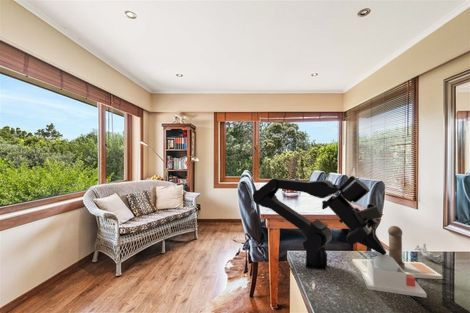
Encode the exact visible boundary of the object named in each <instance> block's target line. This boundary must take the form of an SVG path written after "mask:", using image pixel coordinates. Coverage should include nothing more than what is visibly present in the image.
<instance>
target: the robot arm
mask: <svg viewBox="0 0 470 313" xmlns="http://www.w3.org/2000/svg"><path fill="white" fill-rule="evenodd" d="M279 190H285V191H286V190H287V191H295V192H298V193H299V192H300V193H305V194H308V195H310V196H312V197H316V198H318V199H325V200H322V201H321V202H322V205H321V210H325V209H327V208H329V209H330V210H331V211H332V212H333V213H334V214H335V215H336V216H337V218H338V219H339V221H338V222H339V223H340V224H342V223H343V224H344V225H345V226H346V228H348V230H349V231H348V234H347V235H346V236H345V241H346V243H347V244H349V246H350V247H352V246H354V245H355V244H360V245H362V246H364V247H367V248H368V249H371V250H373V251H374V252H376V253H379V255H380V254H382V255H385V254H386V255H387V251H386V249H385V247H384V246H383V243H382V242H381V241H380V239H379V237H378V235H377V226H374V225H375V224H377V223H378V220H377V219H380V218H382V217H383V216H384V214H383V212H382V208H381V207H380V206H379V205H378V204H377V205H375V203H373V202H372V203H371V202H370V203H368V204H367V205H366V208H364V209H361V210H360V209H359V207H354V206H353V205H352V204H351V203H352V202H353V203H357V202H358V201H360V200H361V199H362V198H363V197H365V196H366V195H367V194H368V193H369V192H371V190H370V188H369V186H368V185H367V184H365V183H364V182H363V181H361V180H360V179H358V178H357V177H356V176H354V175H351V176H349V178H348V179H347V180H346V181H345V182H344V183H343V184H341V185H339V184H335V183H334V184H333V182H332V181H330V180H327V179H324V180H323V179H322V180H311V181H310V180H309V181H305V180H297V179H296V180H295V179H286V178H280V177H275V178H274V177H273V178H270V180H269V181H268V182H267V183H266V184H265V183H264V185H262V186H261V187H260V188H259V189H256V190H254V191H253V193H252V201H253V202H254V203H255V205H258V206H260V207H263V208H266V209H270V210H272V211H273V212H274V213H276V214H278V215H279V216H280V217H282V218H283V219H284V220H286V221H287V222H289V223H290V224H291V225H293V226H294V227H295V228H297V229H299V230H300V231H301V232H302V233H303V235H304V236H305V238H306V240H305V241H303V242H302V246H303V249H304V250H305V268H308V269H316V270H322V271H323V270H324V271H325V270H327V268H326V267H328V253H327V251H326V248H325V246H327V244H329V243H330V241H331V240H332V238H333V233H332V230H331V229H330V228H329V227H328V224H326V223H323V222H322V221H321V220H320V219H315V220H312V221H311V220H310V219H308V218H307V217H304V215H302V214H301V213H299V212H298V211H296V210H294V209H293V208H291V207H290V206H288V205H287V204H286V203H284V202H282V201H281V200H279V199H278V198H277V195H276V194H277V192H278V191H279ZM337 193H338V194H337ZM335 194H337V195H336V196H334V195H335ZM330 196H331V197H330ZM328 197H329V198H328ZM326 198H328V199H327V200H326ZM373 226H374V227H373Z"/></svg>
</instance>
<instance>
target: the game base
mask: <svg viewBox="0 0 470 313" xmlns="http://www.w3.org/2000/svg"><path fill="white" fill-rule="evenodd" d="M366 260H367V272H361V276H362V279H363V281H364V283H365V286H366V288H367V289H368V290H370V291H371V290H372V291H379V292H386V293H390V294H392V293H393V294H398V295H399V294H400V295H406V296H413V297H421V298H428V296H427V295H428V294H427V293H426V291H425V290H424V289H423V287H421V286H420V284H418V282H417V281H416V278H414V277H413V276H412V275H406V273H405V272H404V271H403V269H402V268H401V267H400V266H399V265H398V264H397V272H394V271H386V270H377V269H374V259H372V258H366ZM396 263H397V262H396Z"/></svg>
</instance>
